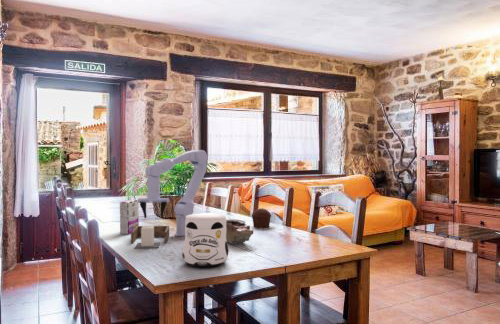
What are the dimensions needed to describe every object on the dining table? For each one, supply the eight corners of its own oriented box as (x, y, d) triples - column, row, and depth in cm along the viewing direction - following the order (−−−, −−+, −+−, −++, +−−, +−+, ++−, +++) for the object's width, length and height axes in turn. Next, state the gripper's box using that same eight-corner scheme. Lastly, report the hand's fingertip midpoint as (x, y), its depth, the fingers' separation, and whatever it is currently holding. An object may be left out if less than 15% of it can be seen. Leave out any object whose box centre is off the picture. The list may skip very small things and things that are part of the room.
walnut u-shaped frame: (169, 235, 199) (169, 225, 199) (166, 243, 183) (166, 232, 183) (136, 236, 197) (136, 226, 197) (131, 243, 181) (131, 232, 181)
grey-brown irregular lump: (242, 237, 198) (242, 217, 198) (260, 245, 180) (260, 224, 180) (217, 239, 192) (217, 219, 192) (234, 248, 174) (234, 226, 174)
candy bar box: (130, 229, 212) (130, 199, 212) (138, 230, 211) (138, 199, 211) (119, 234, 201) (119, 201, 201) (128, 234, 200) (128, 202, 200)
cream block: (154, 243, 180) (154, 225, 180) (152, 246, 175) (152, 228, 175) (142, 243, 179) (142, 226, 179) (141, 246, 174) (141, 228, 174)
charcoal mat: (160, 243, 182) (160, 242, 182) (158, 248, 173) (158, 247, 173) (137, 243, 181) (137, 242, 181) (134, 248, 172) (134, 247, 172)
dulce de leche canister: (196, 273, 139) (196, 222, 138) (174, 261, 153) (174, 215, 152) (237, 265, 149) (237, 217, 148) (213, 255, 163) (213, 211, 162)
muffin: (274, 227, 222) (274, 210, 222) (256, 229, 218) (256, 211, 218) (265, 224, 233) (266, 207, 233) (248, 225, 229) (248, 208, 229)
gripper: (136, 190, 186) (136, 219, 187) (168, 190, 188) (168, 218, 189) (138, 189, 193) (138, 216, 194) (169, 188, 195) (169, 216, 196)
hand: (153, 217), depth 192 cm, fingers open, 7 cm apart
